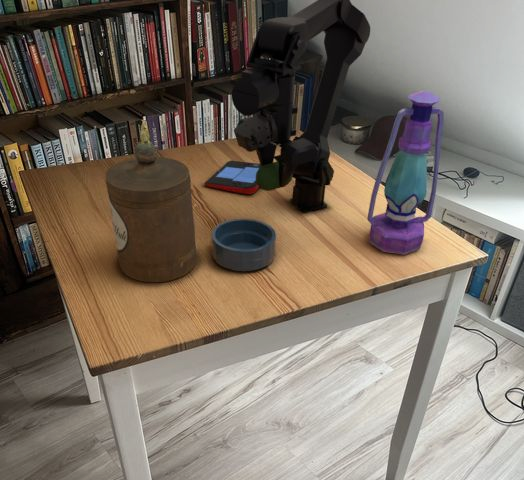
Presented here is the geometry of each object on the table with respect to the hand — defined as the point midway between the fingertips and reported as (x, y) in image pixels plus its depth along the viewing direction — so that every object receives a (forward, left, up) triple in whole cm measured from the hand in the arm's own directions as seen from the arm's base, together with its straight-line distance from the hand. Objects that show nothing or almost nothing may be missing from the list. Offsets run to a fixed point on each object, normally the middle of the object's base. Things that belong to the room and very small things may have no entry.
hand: (274, 181), depth 113 cm
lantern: (-21, +15, -11) cm, 28 cm away
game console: (-4, -25, -11) cm, 28 cm away
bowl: (+10, +7, -11) cm, 16 cm away
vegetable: (+21, -17, -11) cm, 29 cm away
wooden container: (+26, +2, -11) cm, 28 cm away
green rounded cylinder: (0, 0, -1) cm, 1 cm away
